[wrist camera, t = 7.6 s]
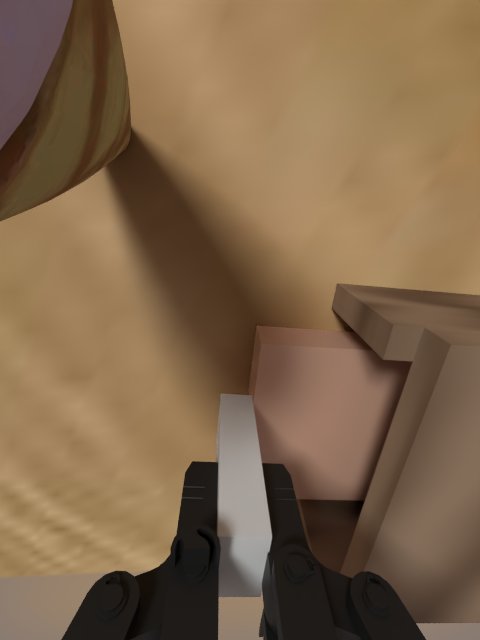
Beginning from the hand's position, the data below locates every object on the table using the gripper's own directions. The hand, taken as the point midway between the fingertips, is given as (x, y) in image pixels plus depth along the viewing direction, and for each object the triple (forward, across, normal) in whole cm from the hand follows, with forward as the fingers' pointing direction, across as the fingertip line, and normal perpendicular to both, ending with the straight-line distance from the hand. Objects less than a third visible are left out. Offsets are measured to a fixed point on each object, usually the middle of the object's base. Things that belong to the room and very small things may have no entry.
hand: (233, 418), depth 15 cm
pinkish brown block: (+2, +7, 0) cm, 7 cm away
